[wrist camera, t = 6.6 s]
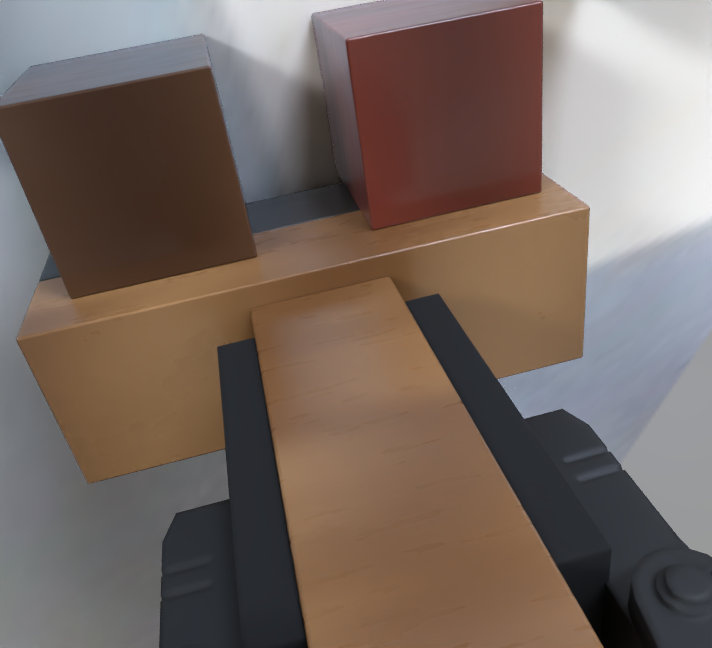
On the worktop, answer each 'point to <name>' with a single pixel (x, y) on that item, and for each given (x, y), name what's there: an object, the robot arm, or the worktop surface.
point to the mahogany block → (433, 103)
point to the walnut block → (128, 165)
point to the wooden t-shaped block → (348, 403)
